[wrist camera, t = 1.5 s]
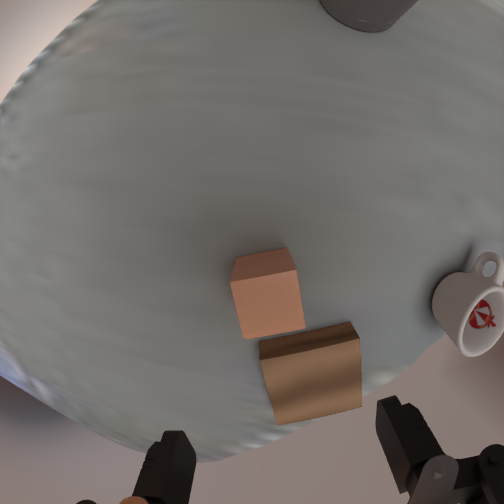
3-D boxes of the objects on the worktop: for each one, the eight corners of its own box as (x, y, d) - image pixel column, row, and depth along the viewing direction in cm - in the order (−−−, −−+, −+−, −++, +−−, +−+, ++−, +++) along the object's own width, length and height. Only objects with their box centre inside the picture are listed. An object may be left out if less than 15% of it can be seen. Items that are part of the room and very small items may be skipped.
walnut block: (259, 339, 31) (259, 360, 28) (349, 320, 31) (359, 338, 27) (275, 403, 34) (277, 425, 30) (353, 386, 33) (361, 406, 29)
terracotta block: (236, 257, 29) (229, 282, 22) (287, 247, 29) (296, 269, 22) (246, 303, 30) (243, 339, 23) (295, 294, 30) (305, 328, 23)
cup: (452, 231, 28) (497, 248, 20) (489, 255, 28) (530, 275, 21) (412, 316, 30) (446, 351, 22) (453, 331, 31) (486, 362, 23)
